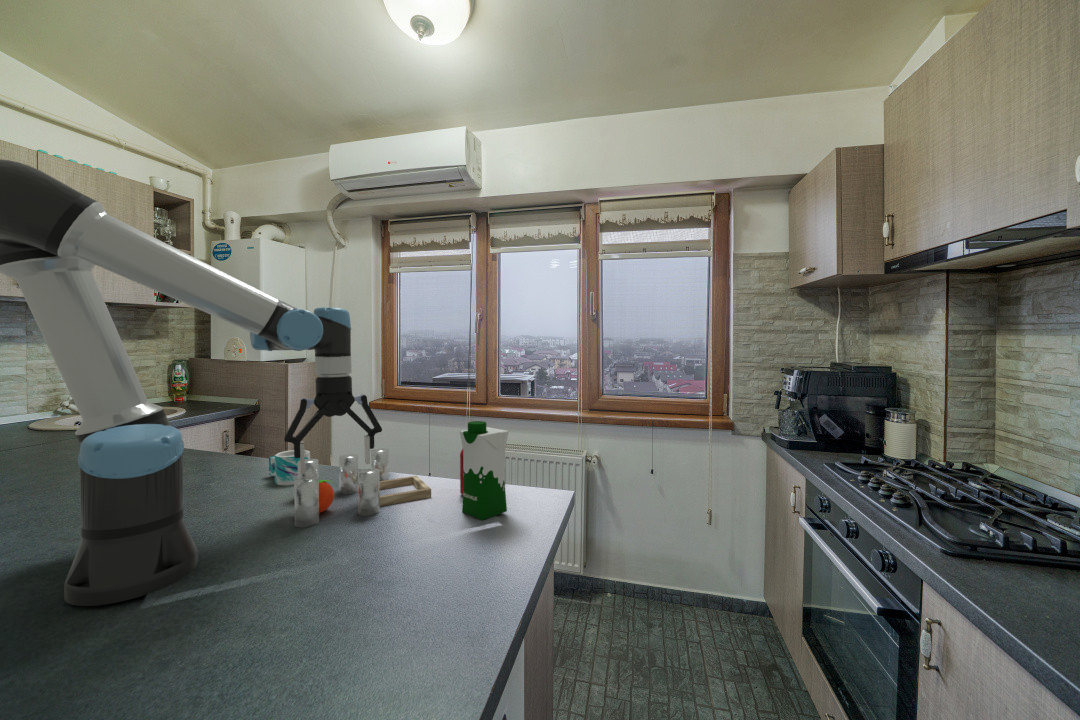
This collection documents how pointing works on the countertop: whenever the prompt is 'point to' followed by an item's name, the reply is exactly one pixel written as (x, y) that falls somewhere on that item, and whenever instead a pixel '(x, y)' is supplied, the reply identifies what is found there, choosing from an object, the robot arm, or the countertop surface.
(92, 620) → the countertop surface
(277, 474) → the mug
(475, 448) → the milk carton
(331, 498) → the clementine
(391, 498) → the beech corral
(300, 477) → the spacer field
